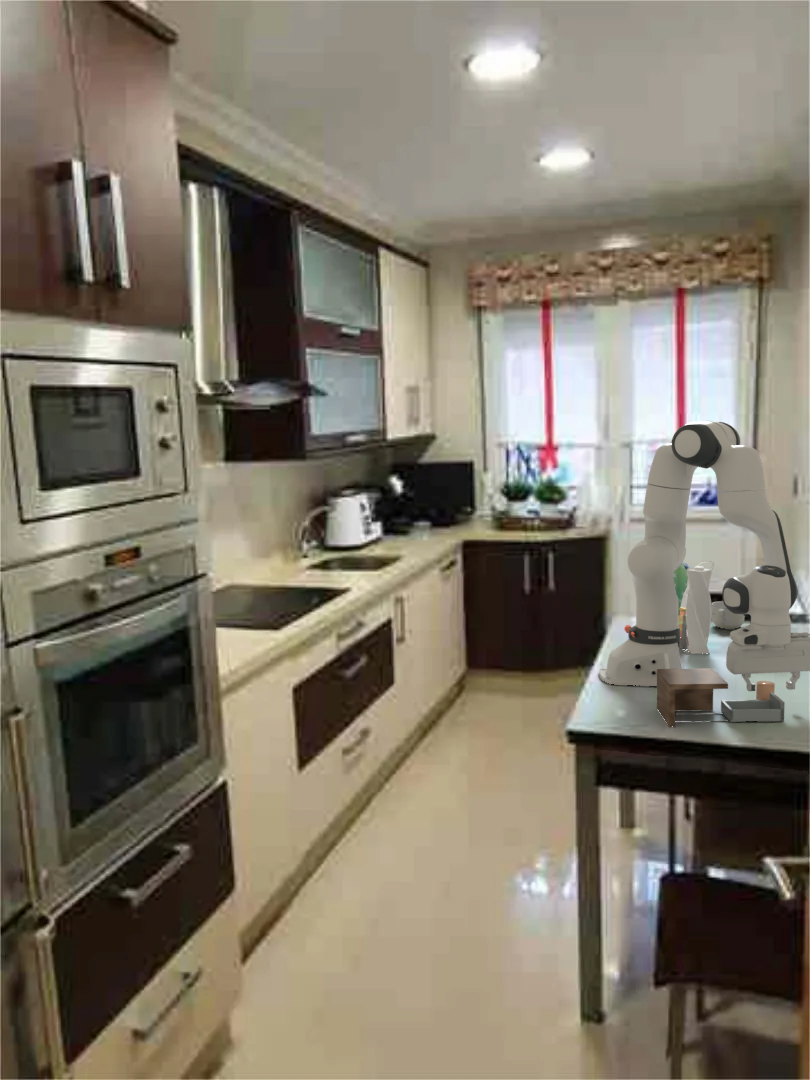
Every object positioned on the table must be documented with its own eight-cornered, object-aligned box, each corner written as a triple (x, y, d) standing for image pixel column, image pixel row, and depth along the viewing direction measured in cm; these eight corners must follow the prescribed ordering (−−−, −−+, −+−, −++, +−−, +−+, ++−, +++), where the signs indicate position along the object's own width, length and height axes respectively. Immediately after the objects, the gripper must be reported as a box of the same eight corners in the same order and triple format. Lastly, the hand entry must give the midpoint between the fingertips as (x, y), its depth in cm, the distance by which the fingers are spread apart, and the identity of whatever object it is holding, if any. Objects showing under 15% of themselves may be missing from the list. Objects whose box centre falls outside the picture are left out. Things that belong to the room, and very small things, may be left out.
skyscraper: (708, 648, 253) (709, 558, 249) (715, 656, 245) (717, 563, 241) (680, 649, 253) (681, 559, 250) (686, 656, 245) (687, 563, 242)
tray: (730, 721, 190) (730, 702, 189) (721, 711, 197) (721, 693, 196) (784, 721, 189) (784, 702, 188) (772, 710, 196) (773, 692, 195)
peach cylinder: (759, 710, 198) (760, 685, 197) (753, 704, 202) (754, 680, 201) (776, 709, 197) (777, 685, 197) (770, 704, 201) (770, 680, 200)
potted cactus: (697, 642, 260) (698, 564, 256) (646, 640, 264) (647, 563, 260) (694, 630, 274) (695, 556, 271) (646, 628, 278) (646, 555, 275)
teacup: (721, 622, 284) (722, 599, 283) (751, 627, 276) (752, 603, 275) (699, 629, 275) (699, 605, 274) (730, 634, 267) (730, 610, 266)
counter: (669, 727, 188) (669, 684, 187) (656, 709, 200) (657, 668, 199) (788, 726, 187) (789, 682, 185) (768, 708, 198) (769, 667, 197)
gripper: (808, 628, 200) (808, 684, 202) (723, 632, 201) (724, 687, 202) (820, 634, 194) (820, 691, 195) (732, 639, 194) (733, 695, 196)
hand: (770, 689), depth 199 cm, fingers open, 8 cm apart
